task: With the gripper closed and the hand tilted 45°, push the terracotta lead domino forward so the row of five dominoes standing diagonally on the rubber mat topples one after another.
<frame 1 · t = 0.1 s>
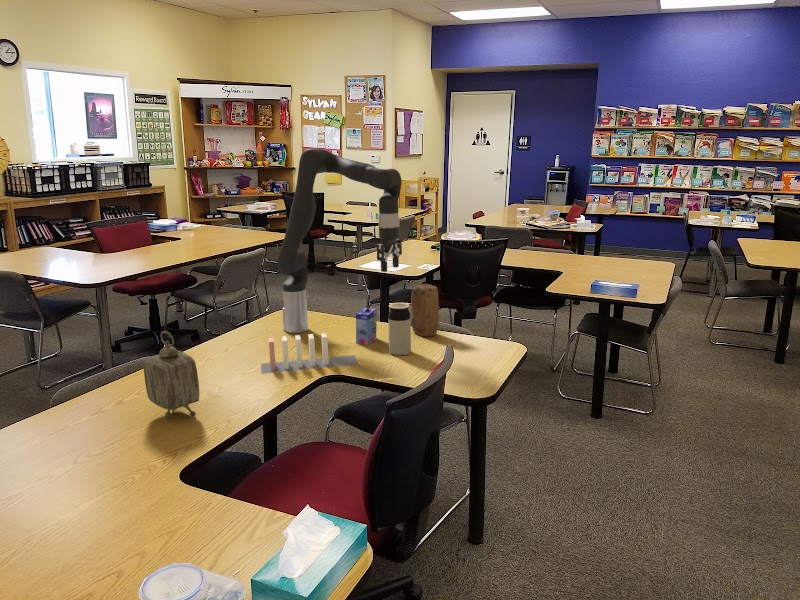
hand: (390, 269, 229), 29 cm above the table, tool pointing down, fingers open, 8 cm apart
domino 3: (299, 364, 216), resting on mat
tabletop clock: (174, 415, 179), on the table
travel mug: (400, 353, 228), on the table
domino 2: (286, 366, 215), resting on mat
block: (424, 334, 249), on the table
domino 5: (325, 362, 218), resting on mat
domino 1: (273, 367, 214), resting on mat
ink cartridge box: (366, 341, 242), on the table
domino 4: (312, 363, 217), resting on mat
mat: (309, 365, 217), on the table
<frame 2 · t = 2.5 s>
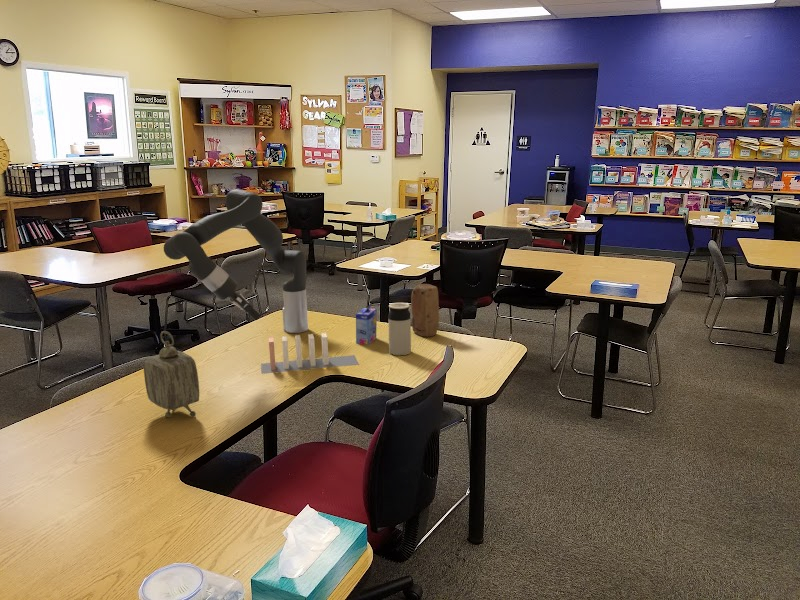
hand: (255, 315, 205), 20 cm above the table, tool tilted 40°, fingers open, 8 cm apart
nothing on the table moved.
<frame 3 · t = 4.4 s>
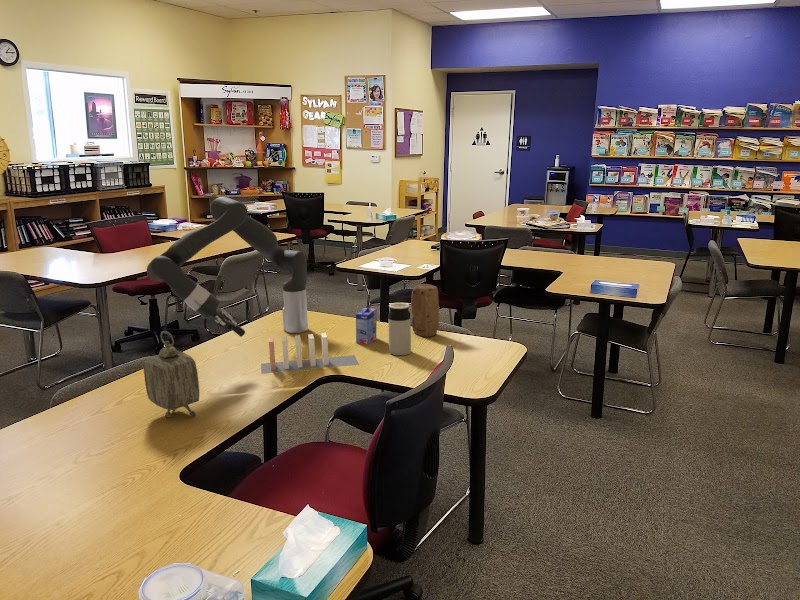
hand: (243, 334, 209), 13 cm above the table, tool tilted 45°, fingers closed
nothing on the table moved.
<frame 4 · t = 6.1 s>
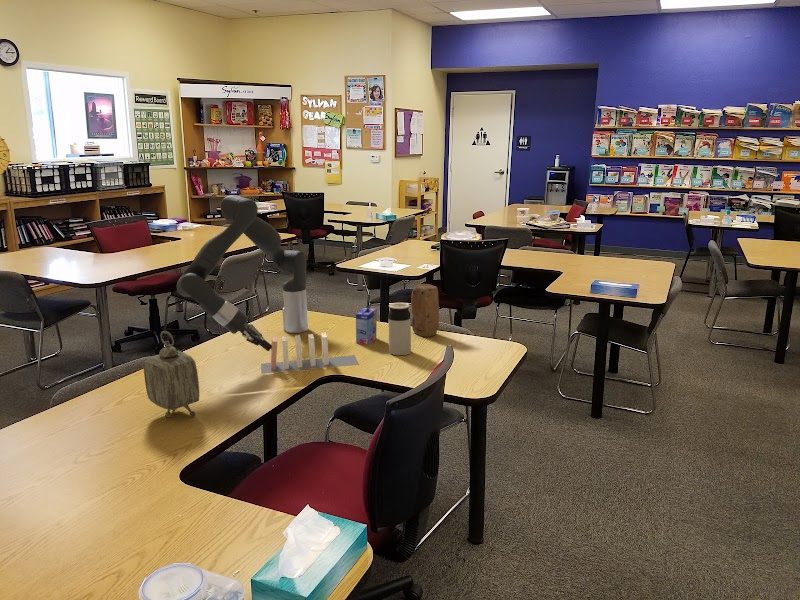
hand: (270, 348, 212), 7 cm above the table, tool tilted 45°, fingers closed
domino 1: (273, 367, 214), point 1 cm above the table, tilted 7°, touching mat
everything else where it was.
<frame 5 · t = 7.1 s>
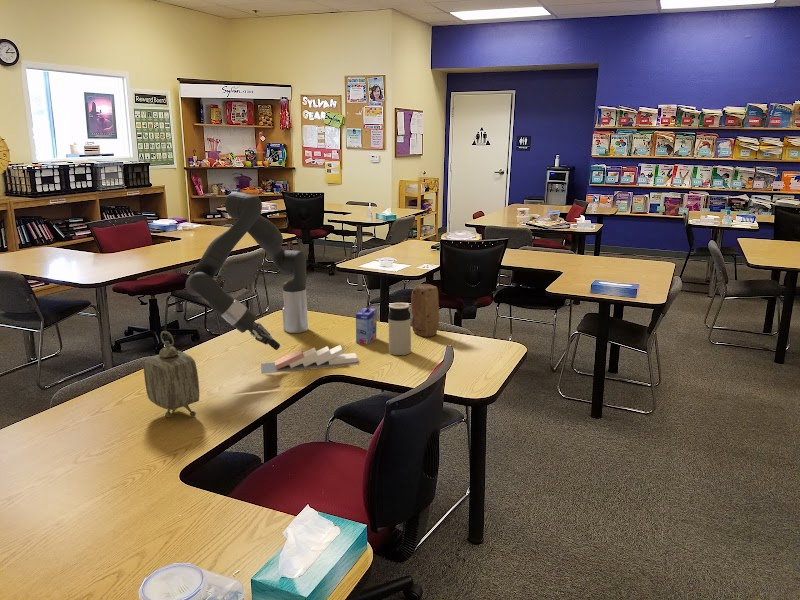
hand: (278, 347, 212), 7 cm above the table, tool tilted 45°, fingers closed
domino 3: (303, 362, 216), point 1 cm above the table, tilted 69°, touching domino 2, domino 4, mat
domino 2: (289, 363, 215), point 1 cm above the table, tilted 69°, touching domino 1, domino 3, mat
domino 5: (328, 360, 218), point 1 cm above the table, tilted 90°, touching domino 4, mat
domino 1: (276, 365, 214), point 1 cm above the table, tilted 69°, touching domino 2, mat
domino 4: (316, 361, 217), point 1 cm above the table, tilted 69°, touching domino 3, domino 5
everything else where it was.
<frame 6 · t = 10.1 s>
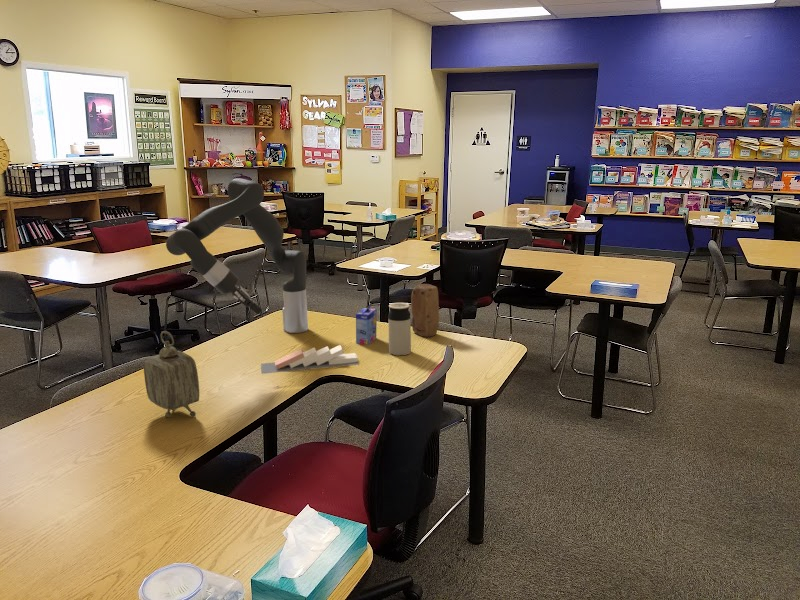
hand: (259, 311, 209), 20 cm above the table, tool tilted 40°, fingers closed
nothing on the table moved.
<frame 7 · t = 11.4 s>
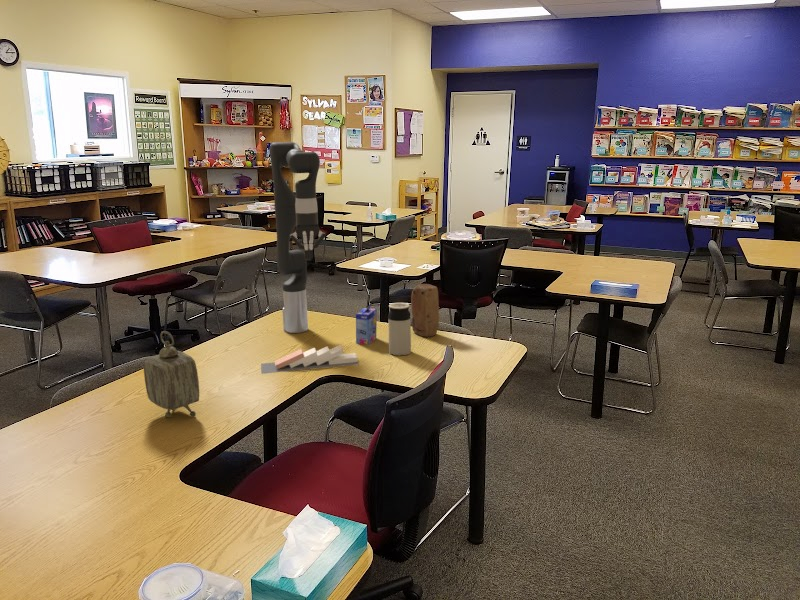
hand: (309, 260, 221), 35 cm above the table, tool pointing down, fingers closed
nothing on the table moved.
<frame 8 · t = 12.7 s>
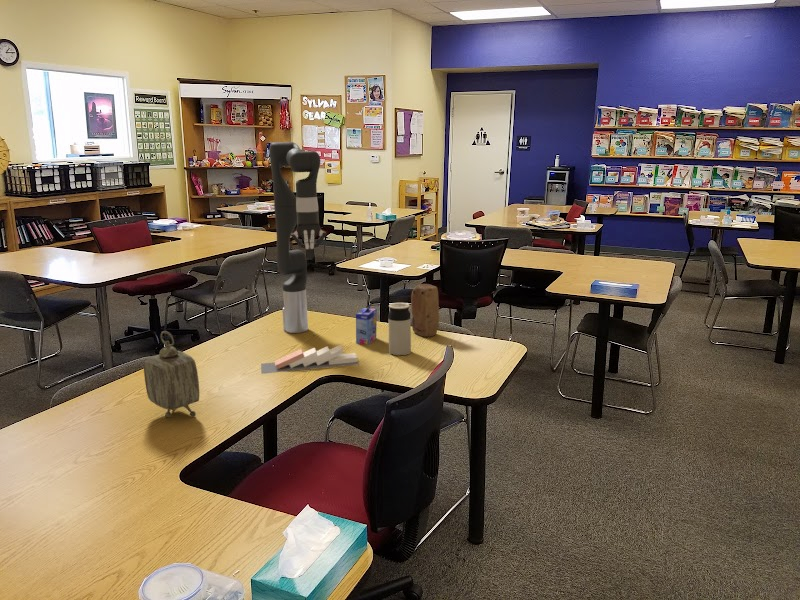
hand: (310, 259, 221), 35 cm above the table, tool pointing down, fingers closed
nothing on the table moved.
at the end: domino 1 tilted 69°; domino 5 tilted 90° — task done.
